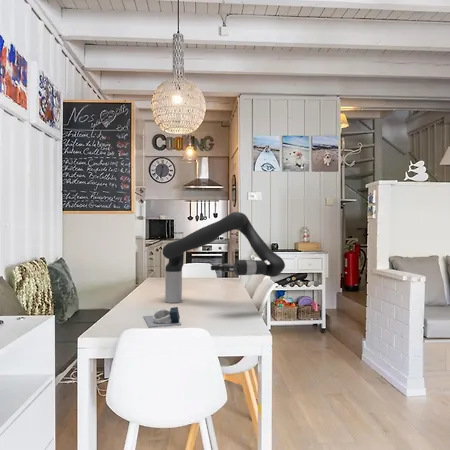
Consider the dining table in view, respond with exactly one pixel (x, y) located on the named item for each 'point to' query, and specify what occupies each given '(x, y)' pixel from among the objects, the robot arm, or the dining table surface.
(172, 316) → the watch
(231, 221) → the robot arm
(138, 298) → the dining table surface
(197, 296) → the dining table surface
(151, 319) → the mat
